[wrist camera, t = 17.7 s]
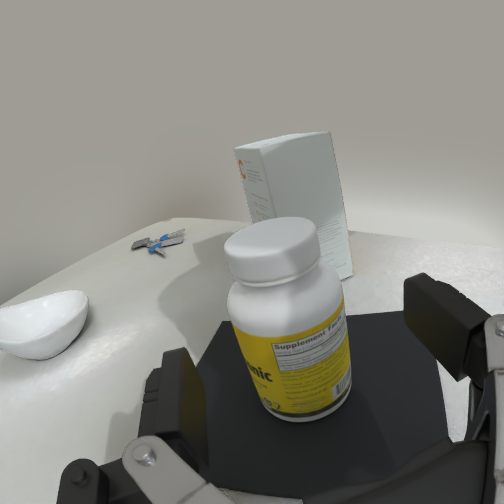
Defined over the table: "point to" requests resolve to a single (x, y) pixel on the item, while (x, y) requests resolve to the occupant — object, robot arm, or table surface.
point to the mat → (330, 426)
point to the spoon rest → (43, 324)
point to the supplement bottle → (289, 318)
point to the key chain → (159, 242)
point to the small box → (298, 189)
